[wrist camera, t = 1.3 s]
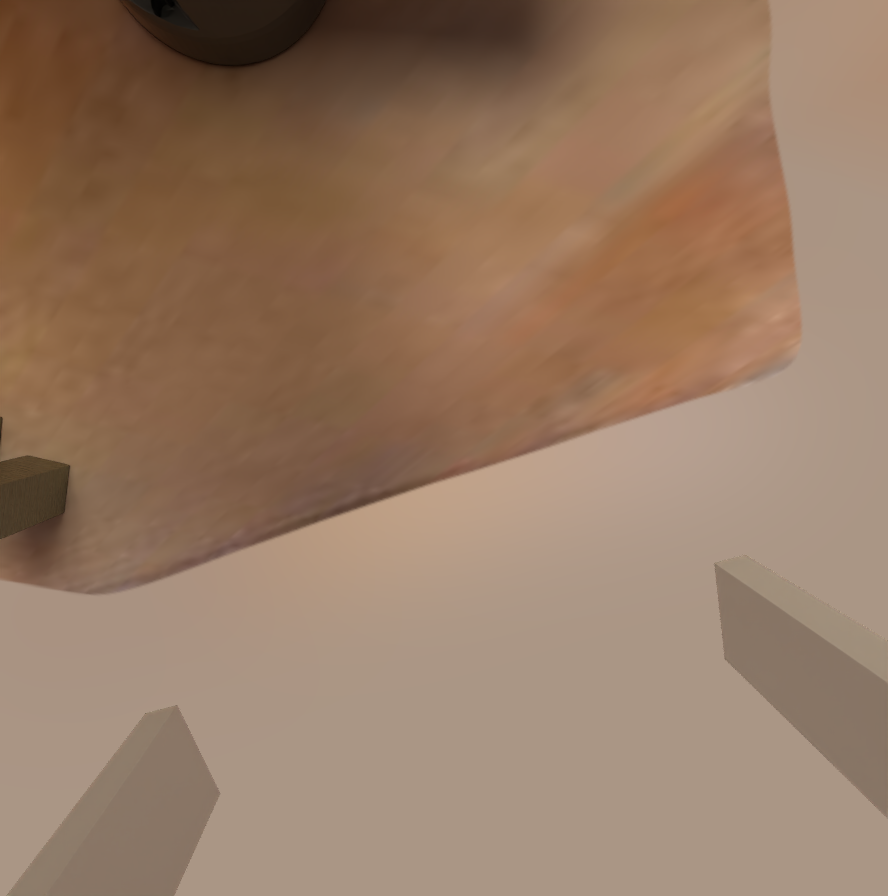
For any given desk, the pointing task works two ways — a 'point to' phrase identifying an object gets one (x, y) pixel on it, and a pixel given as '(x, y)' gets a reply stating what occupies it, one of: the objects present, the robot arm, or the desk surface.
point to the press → (30, 492)
